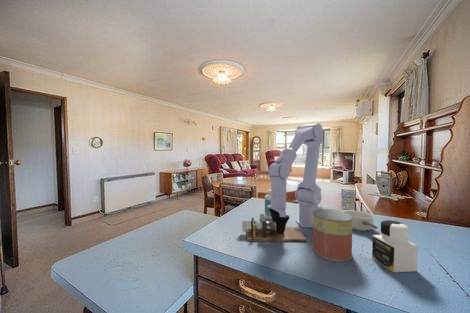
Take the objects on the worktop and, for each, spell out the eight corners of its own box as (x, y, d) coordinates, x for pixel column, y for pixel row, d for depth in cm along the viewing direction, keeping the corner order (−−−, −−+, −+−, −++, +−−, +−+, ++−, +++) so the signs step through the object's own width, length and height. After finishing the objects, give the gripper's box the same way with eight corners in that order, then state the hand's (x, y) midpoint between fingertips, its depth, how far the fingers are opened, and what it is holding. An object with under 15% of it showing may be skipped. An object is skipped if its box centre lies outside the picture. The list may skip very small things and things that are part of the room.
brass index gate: (254, 228, 77) (254, 216, 77) (256, 237, 69) (257, 224, 69) (250, 228, 77) (250, 216, 77) (251, 237, 69) (252, 224, 69)
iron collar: (263, 228, 77) (263, 214, 77) (266, 237, 69) (266, 221, 69) (259, 228, 77) (259, 214, 77) (262, 237, 69) (262, 221, 69)
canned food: (344, 244, 65) (345, 210, 65) (358, 263, 54) (359, 222, 54) (309, 241, 68) (310, 208, 67) (316, 258, 57) (317, 218, 56)
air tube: (282, 230, 75) (282, 218, 75) (285, 235, 71) (285, 222, 71) (242, 229, 75) (242, 218, 75) (242, 234, 71) (242, 222, 71)
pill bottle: (280, 221, 88) (280, 192, 87) (264, 220, 89) (264, 191, 89) (279, 215, 95) (280, 189, 95) (264, 214, 96) (265, 188, 96)
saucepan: (357, 240, 69) (357, 225, 69) (338, 221, 88) (338, 209, 88) (393, 244, 66) (394, 228, 66) (366, 223, 86) (366, 211, 86)
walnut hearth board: (296, 229, 78) (296, 227, 78) (306, 241, 67) (306, 239, 67) (246, 228, 78) (246, 226, 78) (247, 241, 67) (247, 238, 67)
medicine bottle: (371, 258, 57) (372, 218, 57) (393, 257, 58) (394, 218, 57) (393, 273, 50) (394, 227, 50) (418, 271, 51) (419, 227, 50)
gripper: (265, 190, 80) (264, 222, 80) (271, 198, 65) (271, 237, 66) (281, 190, 80) (281, 222, 80) (292, 199, 65) (291, 238, 66)
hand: (278, 229), depth 73 cm, fingers open, 7 cm apart
